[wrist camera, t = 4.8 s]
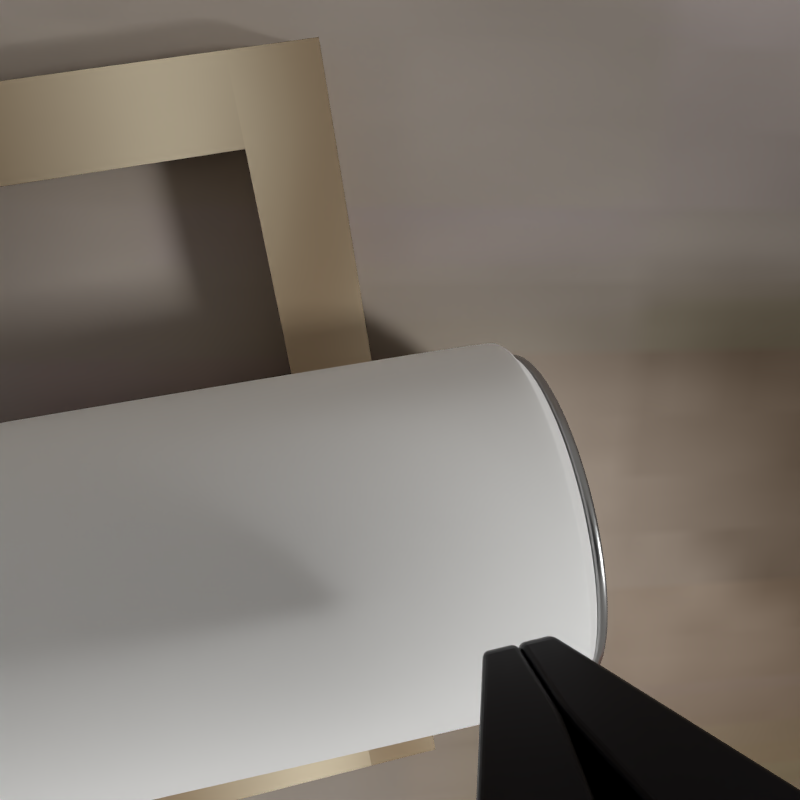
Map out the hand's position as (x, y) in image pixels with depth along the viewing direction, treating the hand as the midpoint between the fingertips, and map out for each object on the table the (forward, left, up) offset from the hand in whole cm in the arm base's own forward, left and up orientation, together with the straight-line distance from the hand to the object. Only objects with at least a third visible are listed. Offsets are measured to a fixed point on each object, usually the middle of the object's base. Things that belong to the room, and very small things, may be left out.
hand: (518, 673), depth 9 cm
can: (-2, +1, -5) cm, 5 cm away
